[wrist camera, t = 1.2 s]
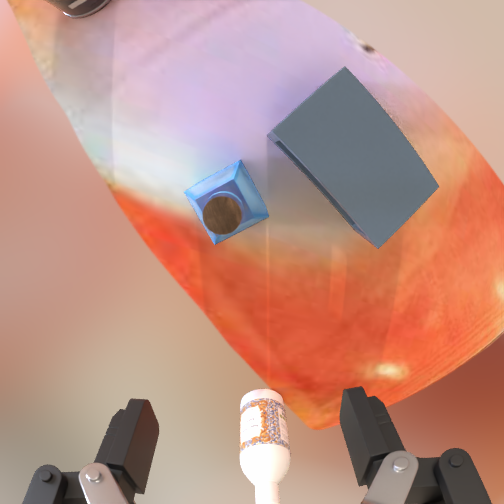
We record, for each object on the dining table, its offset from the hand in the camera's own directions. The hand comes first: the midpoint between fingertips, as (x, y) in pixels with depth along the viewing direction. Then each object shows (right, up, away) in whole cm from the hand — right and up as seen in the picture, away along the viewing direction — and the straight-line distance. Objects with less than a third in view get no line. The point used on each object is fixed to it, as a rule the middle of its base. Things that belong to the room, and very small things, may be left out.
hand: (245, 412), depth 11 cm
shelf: (+11, +18, +23) cm, 32 cm away
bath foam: (+2, -18, +35) cm, 39 cm away
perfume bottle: (-2, +13, +25) cm, 28 cm away
